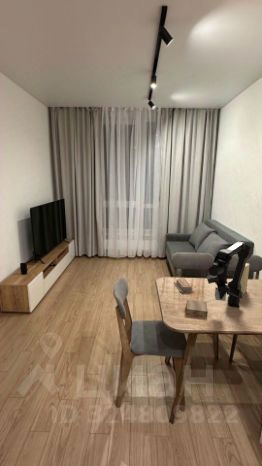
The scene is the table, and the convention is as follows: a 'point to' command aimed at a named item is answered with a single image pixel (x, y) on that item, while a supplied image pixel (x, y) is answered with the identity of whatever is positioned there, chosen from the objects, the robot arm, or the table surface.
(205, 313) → the walnut block
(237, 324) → the table surface
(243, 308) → the table surface
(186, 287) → the packaged product
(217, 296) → the slate cube
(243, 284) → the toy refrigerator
